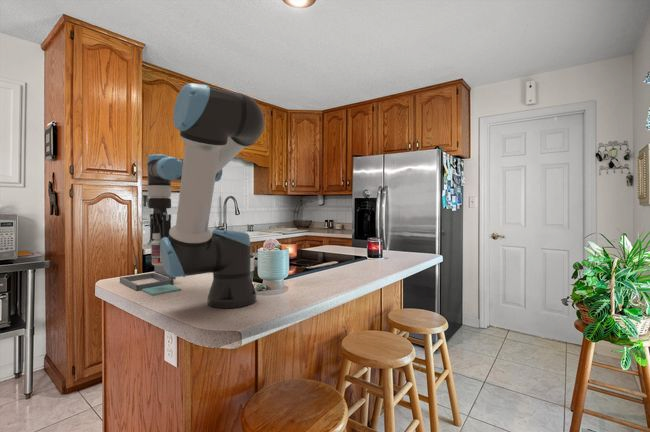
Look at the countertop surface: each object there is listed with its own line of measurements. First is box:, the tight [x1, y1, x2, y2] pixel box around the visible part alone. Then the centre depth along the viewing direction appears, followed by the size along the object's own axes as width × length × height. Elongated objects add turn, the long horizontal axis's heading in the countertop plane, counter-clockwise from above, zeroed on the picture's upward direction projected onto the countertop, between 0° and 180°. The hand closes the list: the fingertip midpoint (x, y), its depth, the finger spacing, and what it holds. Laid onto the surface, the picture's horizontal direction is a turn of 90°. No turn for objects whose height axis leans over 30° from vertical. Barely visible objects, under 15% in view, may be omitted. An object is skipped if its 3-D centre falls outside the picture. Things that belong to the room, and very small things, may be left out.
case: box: [119, 265, 177, 292], centre depth 134 cm, size 20×14×14 cm
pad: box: [141, 284, 182, 296], centre depth 123 cm, size 10×10×1 cm
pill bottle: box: [150, 233, 163, 266], centre depth 123 cm, size 6×6×11 cm
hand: (160, 260), depth 123 cm, fingers closed on pill bottle, 6 cm apart
